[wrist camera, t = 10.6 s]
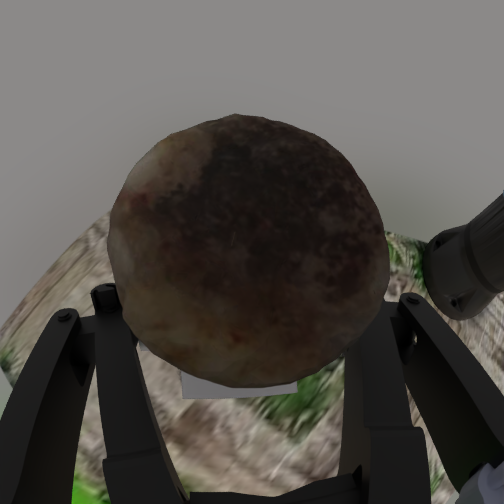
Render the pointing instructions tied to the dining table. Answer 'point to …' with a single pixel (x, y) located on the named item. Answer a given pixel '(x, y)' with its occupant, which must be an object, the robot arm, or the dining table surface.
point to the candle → (247, 252)
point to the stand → (226, 389)
